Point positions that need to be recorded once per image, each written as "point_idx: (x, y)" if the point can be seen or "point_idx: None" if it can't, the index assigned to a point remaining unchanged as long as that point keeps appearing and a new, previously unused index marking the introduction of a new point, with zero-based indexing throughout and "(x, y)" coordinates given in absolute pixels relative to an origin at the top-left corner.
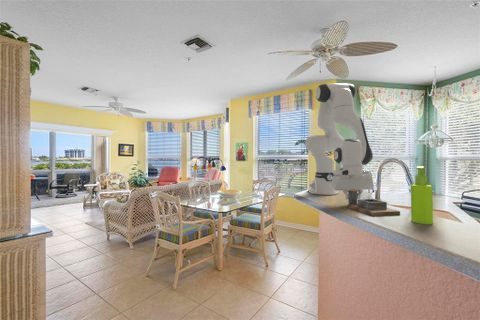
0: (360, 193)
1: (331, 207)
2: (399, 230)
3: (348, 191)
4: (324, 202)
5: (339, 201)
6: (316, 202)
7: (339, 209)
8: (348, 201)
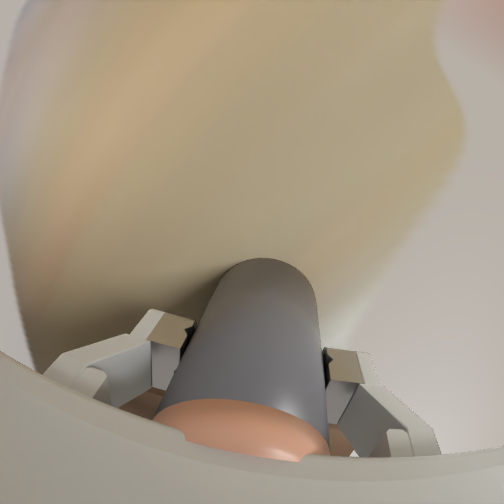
0: (358, 453)
1: (20, 297)
2: None
3: (156, 412)
4: (57, 73)
5: (274, 50)
6: (7, 67)
7: (49, 363)
8: (210, 299)
